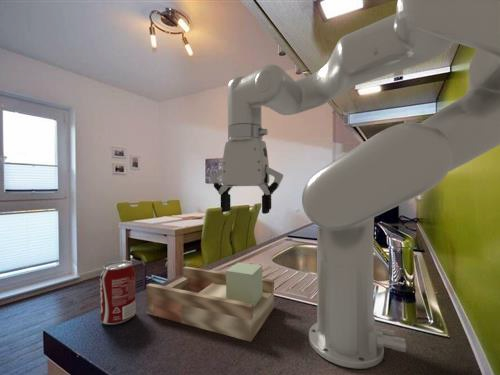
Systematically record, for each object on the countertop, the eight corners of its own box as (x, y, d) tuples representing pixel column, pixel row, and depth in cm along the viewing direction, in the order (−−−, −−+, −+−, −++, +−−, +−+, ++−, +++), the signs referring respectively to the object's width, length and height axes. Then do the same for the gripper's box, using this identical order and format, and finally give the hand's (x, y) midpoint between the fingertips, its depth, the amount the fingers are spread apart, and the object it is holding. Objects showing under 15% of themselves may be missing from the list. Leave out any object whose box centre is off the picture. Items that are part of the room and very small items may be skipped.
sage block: (262, 296, 55) (262, 265, 55) (252, 308, 50) (252, 274, 50) (238, 292, 58) (238, 262, 58) (226, 303, 52) (226, 270, 52)
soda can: (142, 315, 55) (141, 262, 55) (112, 331, 49) (111, 271, 49) (124, 308, 58) (123, 258, 58) (94, 321, 53) (93, 266, 53)
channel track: (274, 307, 58) (274, 280, 58) (250, 341, 45) (250, 307, 45) (185, 289, 69) (185, 266, 69) (146, 313, 56) (146, 285, 56)
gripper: (286, 136, 55) (287, 211, 55) (219, 141, 62) (219, 209, 62) (277, 129, 48) (278, 215, 48) (202, 136, 55) (203, 212, 55)
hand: (245, 212), depth 55 cm, fingers open, 9 cm apart
